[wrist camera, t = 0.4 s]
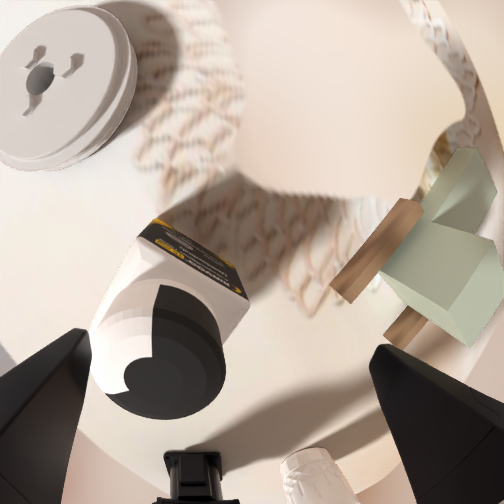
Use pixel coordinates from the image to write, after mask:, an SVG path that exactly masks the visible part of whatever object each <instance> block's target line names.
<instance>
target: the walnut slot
mask: <svg viewBox="0 0 504 504" xmlns="http://www.w3.org/2000/svg"><path fill="white" fill-rule="evenodd" d="M423 213H424V210H423V208H422V207H421V205H420V204H419V203H418V201H413V200H408V199H402V198H400V199H399V200H398V201H397V203H396V204H395V205H394V207H393V208H392V209H391V211H390V212H389V213H388V214H387V216H386V217H385V218H384V220H383V221H382V222H381V223H380V225H379V226H378V227H377V228H376V230H375V231H374V232H373V233H372V235H371V236H370V237H369V238H368V240H367V241H366V242H365V243H364V244H363V246H362V247H361V248H360V249H359V250H358V252H357V253H356V254H355V255H354V256H353V258H352V259H351V260H350V261H349V262H348V264H347V265H346V266H345V267H344V268H343V269H342V271H341V272H340V273H339V274H338V275H337V276H336V277H335V279H334V280H333V281H332V282H331V283H330V284H329V285H330V286H331V287H332V288H333V289H334V290H335V291H336V292H337V293H339V294H340V295H341V296H342V297H343V298H344V299H345V300H347V301H348V302H349V303H350V304H351V303H352V302H353V301H354V300H355V299H356V298H357V297H358V295H359V294H360V293H361V292H362V291H363V290H364V288H365V287H366V286H367V285H368V284H369V282H370V281H371V280H372V279H373V278H374V276H375V275H376V274H377V273H378V272H379V270H380V269H381V268H382V267H383V265H384V264H385V263H386V262H387V261H388V259H389V258H390V257H391V255H392V254H393V253H394V252H395V250H396V249H397V248H398V246H399V245H400V244H401V243H402V241H403V240H404V239H405V237H406V236H407V235H408V233H409V232H410V231H411V229H412V228H413V227H414V225H415V224H416V222H417V221H418V220H419V218H420V217H421V216H422V214H423ZM428 320H429V319H427V318H426V317H425V316H423V315H422V314H420V313H419V312H417V311H416V310H414V309H413V308H411V307H410V306H409V305H408V306H407V308H406V309H405V310H404V311H403V312H402V314H401V315H400V316H399V317H398V318H397V320H396V321H395V322H394V323H393V324H392V325H391V327H390V328H389V329H388V330H387V331H386V332H385V333H384V335H383V336H384V337H385V338H386V339H387V340H388V341H390V342H391V343H392V344H393V345H394V346H395V347H397V348H399V349H400V350H402V351H403V350H404V349H405V348H406V346H407V345H408V344H409V343H410V342H411V341H412V339H413V338H414V337H415V336H416V335H417V333H418V332H419V331H420V330H421V329H422V327H423V326H424V325H425V324H426V322H427V321H428Z"/></svg>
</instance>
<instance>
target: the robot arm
mask: <svg viewBox="0 0 504 504" xmlns="http://www.w3.org/2000/svg"><path fill="white" fill-rule="evenodd" d="M91 361H92V350H91V344H90V338H89V333H88V331H87V330H85V329H79V328H74V329H72V330H70V331H69V332H67V333H66V334H64V335H63V336H61V337H59V338H58V339H56V340H55V341H53V342H52V343H50V344H49V345H47V346H46V347H44V348H43V349H41V350H40V351H38V352H37V353H35V354H34V355H32V356H31V357H29V358H28V359H26V360H25V361H23V362H22V363H20V364H19V365H17V366H16V367H14V368H13V369H11V370H10V371H8V372H7V373H6V374H4V375H2V376H1V377H0V504H61V499H62V493H63V487H64V482H65V477H66V472H67V467H68V462H69V457H70V454H71V449H72V445H73V441H74V437H75V433H76V429H77V426H78V422H79V418H80V415H81V411H82V407H83V403H84V398H85V393H86V387H87V381H88V376H89V371H90V366H91ZM369 371H370V374H371V377H372V380H373V383H374V387H375V390H376V393H377V397H378V400H379V403H380V406H381V409H382V411H383V414H384V416H385V419H386V421H387V424H388V426H389V429H390V431H391V434H392V436H393V439H394V441H395V444H396V446H397V449H398V452H399V454H400V457H401V460H402V462H403V465H404V468H405V471H406V473H407V476H408V479H409V481H410V484H411V487H412V490H413V493H414V496H415V499H416V502H417V504H504V403H502V402H500V401H498V400H495V399H493V398H491V397H489V396H487V395H485V394H483V393H481V392H479V391H477V390H475V389H473V388H471V387H468V386H467V385H466V384H464V383H462V382H460V381H458V380H456V379H454V378H452V377H450V376H449V375H447V374H445V373H443V372H441V371H439V370H437V369H436V368H434V367H432V366H430V365H428V364H426V363H424V362H423V361H421V360H419V359H417V358H415V357H413V356H411V355H410V354H408V353H406V352H404V351H402V350H400V349H399V348H397V347H395V346H393V345H391V344H380V345H379V346H378V347H377V348H376V350H375V352H374V354H373V356H372V359H371V361H370V363H369ZM163 458H164V461H165V464H166V468H167V471H168V474H169V477H170V496H171V499H166V498H161V497H157V501H156V502H154V503H152V504H240V502H239V499H233V500H223V496H222V490H221V484H220V481H222V466H221V454H220V453H218V452H210V453H165V454H164V456H163Z"/></svg>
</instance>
